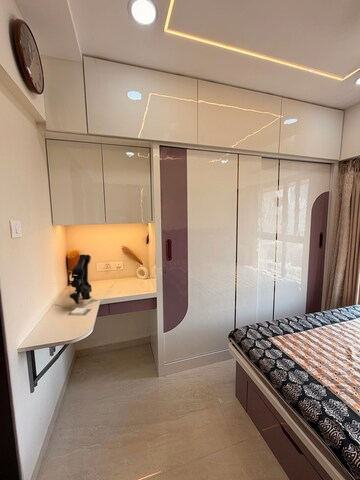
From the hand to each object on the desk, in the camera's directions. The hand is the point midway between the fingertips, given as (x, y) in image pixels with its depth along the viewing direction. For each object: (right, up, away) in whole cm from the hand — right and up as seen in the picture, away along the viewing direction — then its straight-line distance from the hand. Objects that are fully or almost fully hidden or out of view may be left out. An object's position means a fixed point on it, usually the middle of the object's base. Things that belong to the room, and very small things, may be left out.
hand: (80, 301), depth 165 cm
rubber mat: (+4, -6, -9) cm, 11 cm away
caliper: (0, -3, +4) cm, 5 cm away
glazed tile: (+4, -4, -7) cm, 9 cm away
